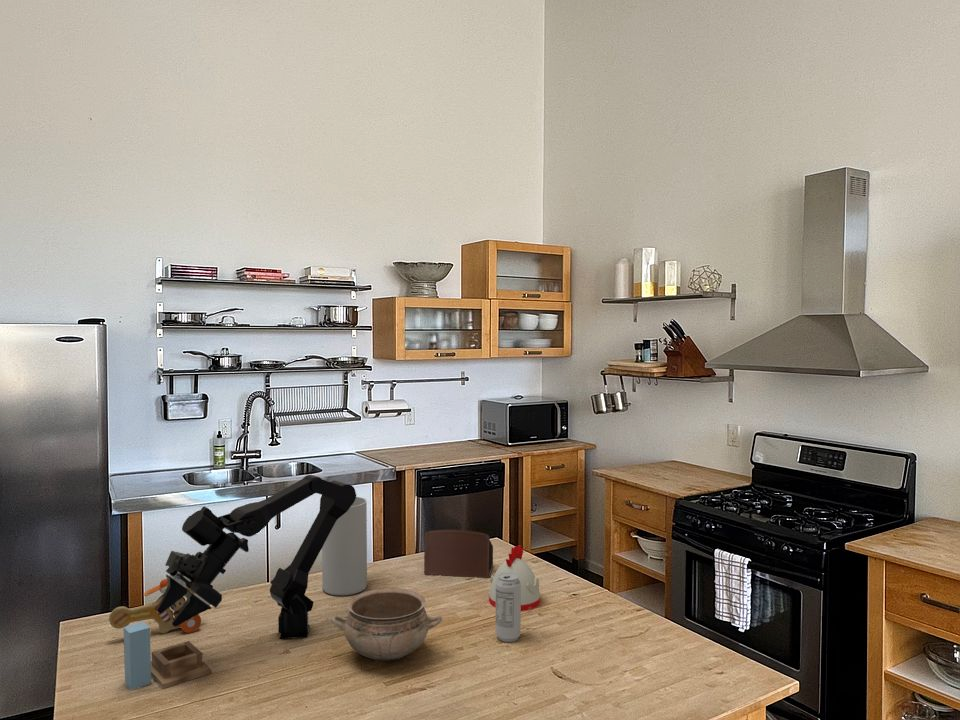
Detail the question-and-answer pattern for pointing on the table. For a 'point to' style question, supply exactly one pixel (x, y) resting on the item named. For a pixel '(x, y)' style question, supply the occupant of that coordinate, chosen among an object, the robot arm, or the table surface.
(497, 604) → the energy drink can
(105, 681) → the table surface
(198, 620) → the toy helicopter
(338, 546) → the cylinder vase
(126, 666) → the pale blue tower
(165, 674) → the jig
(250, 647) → the table surface
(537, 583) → the kitchen timer
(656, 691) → the table surface
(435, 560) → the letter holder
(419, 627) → the cooking pot
